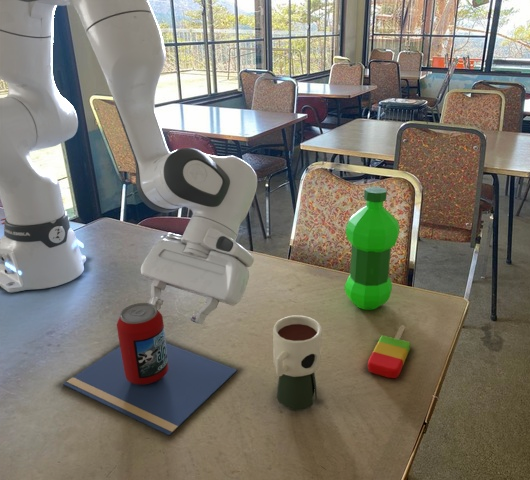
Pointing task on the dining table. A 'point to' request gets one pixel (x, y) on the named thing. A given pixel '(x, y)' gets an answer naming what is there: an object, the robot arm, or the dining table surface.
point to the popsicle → (389, 355)
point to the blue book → (154, 387)
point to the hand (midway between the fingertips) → (174, 315)
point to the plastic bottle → (371, 251)
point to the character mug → (296, 360)
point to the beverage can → (142, 343)
